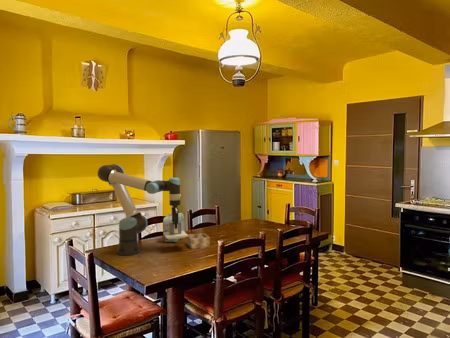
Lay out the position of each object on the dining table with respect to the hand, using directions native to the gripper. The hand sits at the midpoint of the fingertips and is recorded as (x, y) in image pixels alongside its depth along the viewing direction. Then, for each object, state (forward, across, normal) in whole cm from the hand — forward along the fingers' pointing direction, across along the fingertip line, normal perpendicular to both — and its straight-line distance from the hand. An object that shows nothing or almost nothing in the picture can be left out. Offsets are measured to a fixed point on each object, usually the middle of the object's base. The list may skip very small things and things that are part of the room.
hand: (175, 232), depth 249 cm
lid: (+3, 0, 0) cm, 3 cm away
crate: (+12, +5, -18) cm, 22 cm away
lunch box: (+13, +28, -5) cm, 31 cm away
